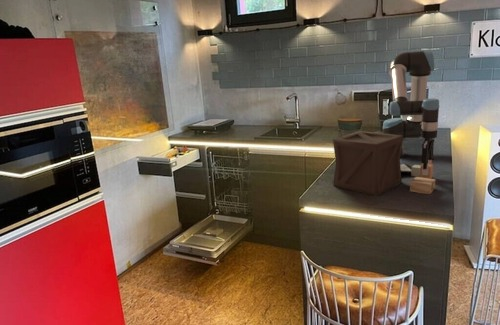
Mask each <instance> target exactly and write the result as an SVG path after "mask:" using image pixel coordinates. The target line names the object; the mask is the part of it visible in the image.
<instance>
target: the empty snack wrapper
mask: <svg viewBox="0 0 500 325" xmlns="http://www.w3.org/2000/svg"><path fill="white" fill-rule="evenodd" d="M400 168H401V173H402V172H405V173H411V172H412V166H411V165H410V164H407V163H403V164H400Z"/></svg>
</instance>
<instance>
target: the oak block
mask: <svg viewBox="0 0 500 325" xmlns="http://www.w3.org/2000/svg"><path fill="white" fill-rule="evenodd" d="M409 184H410V185H409V192H412V193H414V192H415V193H419V194H425V195H431V193H433V191H434V190H436V189H435V188H436V179H435V178H431V179H429V178H422V177H417V176H414V178H413V179H412V180H411V181H410V183H409Z"/></svg>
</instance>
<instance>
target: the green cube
mask: <svg viewBox="0 0 500 325" xmlns="http://www.w3.org/2000/svg"><path fill="white" fill-rule="evenodd" d="M421 165H422V164H420V165H419V164H414V165H412V166H411V168H412V172H410V173H411V174H410V176H411V177H420V166H421Z"/></svg>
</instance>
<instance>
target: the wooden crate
mask: <svg viewBox="0 0 500 325" xmlns="http://www.w3.org/2000/svg"><path fill="white" fill-rule="evenodd" d="M403 136H404V135H394V134H385V133H383V132H375V131H374V132H372V131H363V130H357V131H355V132H352V133H349V134H346V135H343V136H340V137H337V138H334V139H332V142H333V143H332V144H333V152H334V158H335V159H334V161H335V169H334V177H333V186H332V187H336V186H337V188H340V187H341V189H343V190H345V189H346V190H349V191H354V192H357V193H358V192H359V193H363V194H367V195H370V196H374V197H379V195H382V194H384V193H385V192H386V191H389V190H391V189H393V188H394V187H396V186H398V185H400V184H401V183H402V174H401V173H402V172H401V168H400V166H401V156H400V155H401V149H402V146H403V141H404V139H403Z"/></svg>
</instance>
